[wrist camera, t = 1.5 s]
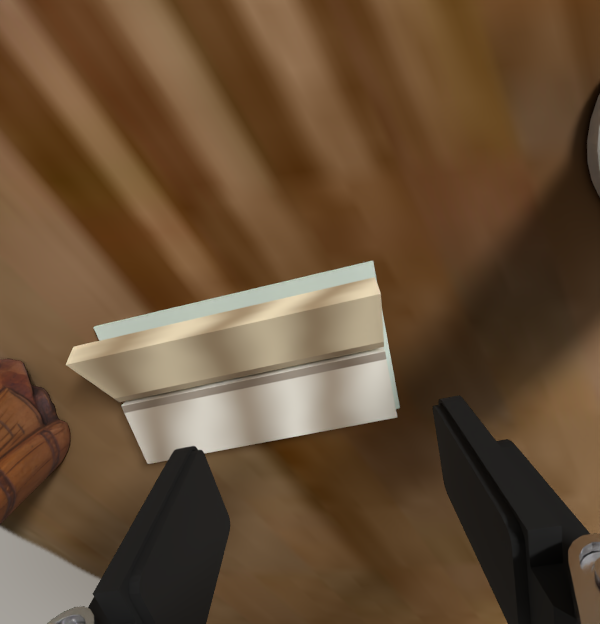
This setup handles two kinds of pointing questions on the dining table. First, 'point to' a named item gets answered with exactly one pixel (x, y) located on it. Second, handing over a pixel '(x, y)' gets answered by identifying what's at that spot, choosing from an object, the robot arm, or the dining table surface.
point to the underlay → (246, 300)
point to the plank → (235, 342)
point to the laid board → (265, 406)
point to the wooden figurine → (26, 436)
